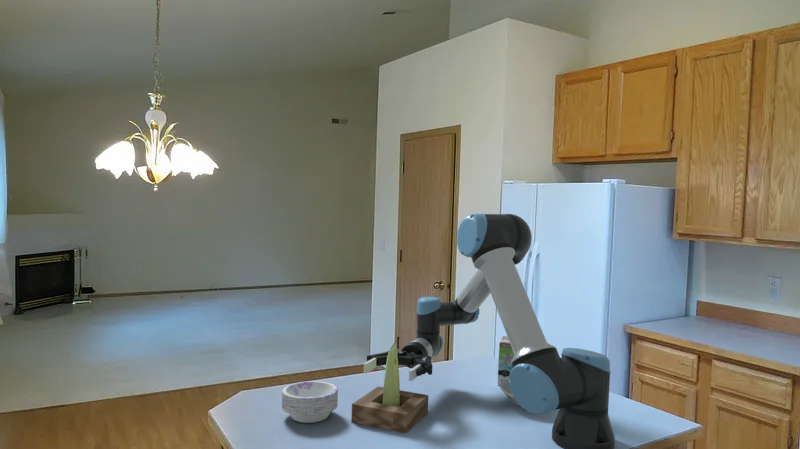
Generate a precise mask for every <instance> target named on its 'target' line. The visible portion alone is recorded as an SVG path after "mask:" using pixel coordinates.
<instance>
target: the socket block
mask: <svg viewBox="0 0 800 449" xmlns="http://www.w3.org/2000/svg"><path fill="white" fill-rule="evenodd" d="M383 388H384V386H376V387H375V388H373V389H372V390H370V391H369V392H368V393H367V392H366V394H365V395H363V396H361V397H360V398H358V399H357V400H356V401H354V402H353V403H351V423H353V424H359V425H364V426H369V427H373V428H378V429H383V430H388V431H393V432H398V433H403V434H407V433H408V432H409V431H410V430H411V429H412V428H413V427H414V426H416V424H418V423H419V422H420V421H421V419H423V418H424V417H425V416H426V415H428V413H429V395H428V394H424V393H417V392H413V391H405V390H402V389H400V407H396V406H391V405H385V404H383Z"/></svg>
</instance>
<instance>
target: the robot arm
mask: <svg viewBox="0 0 800 449" xmlns="http://www.w3.org/2000/svg"><path fill="white" fill-rule="evenodd" d="M456 233H457V234H456V245H457V249H458V250H459V252H460V254H461V255H462V256H465V257H466V258H471V261H472V264H473V266H474V268H475V269H477V270H476V271H475V273H474V275H473V276H472V278H470V279H469V281H468V283H467V284H466V285H465V286H464V288H463V289H462V291H461V292H460V293H459V295H458V296H457V297H456V298H455V300H454V301H444V302H441V299H440V298H439V297H435V296H422V297H420V298H418V299H417V305H416V333H415V334H416V336H415V339H414V340H412V341H410V342H408V343H407V344H405V345H404V346H403V347H402V349H401V350H400V351H397V356H398V366H405V367H407V368H408V369H409V370H408V381H409V382H412V381H414V380H415V379H416V378H418V377H421V376H422V375H426V373H427V375H429V376H430V375H431V376H432V375H433V364H432V359H433V358H434V357H436V356H437V355H439V354H440V352H441V351H442V349H443V347H444V339H443V337H442V336H441V334H440V333H441V332H440V331H441V327H443V326H444V327H445V326H453V325H454V326H455V325H467V324H470V323H474V322H476V321H478V319H479V315H480V307H481V305H482V304H483V303H484V302H485V301H486V299H487V298H488V297H489V296H490V295H491V297H492V300H493V302H494V304H495V308H496V311H497V312H498V315H499V318H500V321H501V324H502V326H503V329H504V331H505V334H506V336H508V339H509V342H510V344H511V347H512V350H513V352H514V357H513V359H512V361H511V364H512V367H513V369H512V370H511V372H510V375H509V378H510V379H511V380H510V381H509V386H510V390H511V393H512V395H513V397H514V399H515V400H516V402H517V403H518V404H519V405H518V406H520V407H521V408H522V409H523V410H526V411H527V412H529V413H531V414H541V413H544V414H546V413H547V414H548V413H552V412H554V411H556V410H558V412H557V415H556V418H555V420H554V422H553V425H552V427H551V428H552V429H551V440H552V441H553V442H554V443H555V444H556V445H558V446H559V447H561V448H563V449H615V440H616V439H615V434H614V431H613V428H612V422H611V420H610V417H609V416H610V415H609V403H610V402H609V401H610V380H611V373H612V371H611V361H610V359H609V358H608V357H607V356H606V355H605V354H602V353H599V352H596V351H592V350H588V349H583V348H576V347H565V348H562V351H561V353H560V354H559V351H558V349H557V348H556V347H557V346H554V345H552V344H550V343H548V340H547V339H546V337H545V335H544V332H543V330H542V327H541V325H540V322H539V321H538V317H537V315H536V313H535V311H534V307H533V306H532V303H531V300H530V299H529V296H528V294H527V291H526V289H525V287H524V284H523V281H522V279H521V277H520V274H519V272H518V269H517V265H518V264H520V263H521V262H522V260H523V259H524V258H525V257H526V256H527V254H528V252H529V250H530V248H531V245H532V240H533V239H532V230H531V228H530V226H529V225H528V223H527V222H526V221H525V219H523V218H522V217H520V216H518V215H517V214H512V213H483V212H479V213H471V214H467V215H466V216H465V217H464V218H463V219H462V221H461V222H460V223H459V225H458V229H457V232H456ZM388 353H389V350H387V351H384V352H380V353H374V354H368V355H366V361H365V362H364V363H363V374H365V375H366V374H368V373H369V372H371V371H373V370H375V369H377V367H378V366H380V367H381V366H386V362H387V357H388ZM560 355H561V357H560Z"/></svg>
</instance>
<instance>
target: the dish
mask: <svg viewBox="0 0 800 449" xmlns="http://www.w3.org/2000/svg"><path fill="white" fill-rule="evenodd" d="M499 388H500V390H501V392H502V393H503V394H504V395H505V396H506V398H507V399H509V401H510V402H512V403H514V404H516V405H518V406H520V405H519V404H518V403H517V402H516V400H515V399H514V397H513V395H512V393H511V390H510V386H509V381H507V382H504V383H502V384H501V385H499Z"/></svg>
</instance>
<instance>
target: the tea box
mask: <svg viewBox="0 0 800 449" xmlns="http://www.w3.org/2000/svg"><path fill="white" fill-rule="evenodd" d="M513 357H514V352H513V350H512V347H511V344H510V342H509V339H508V336H507V335H502V337H501V340H500V342H499V347H498V362H497V363H498V366H497V386H501V384H502V383H504V382H507V381H510V380H511V379H510V378H509V375H510V372H511V370H512V369H513V367H512V364H511V361H512V359H513Z"/></svg>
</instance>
